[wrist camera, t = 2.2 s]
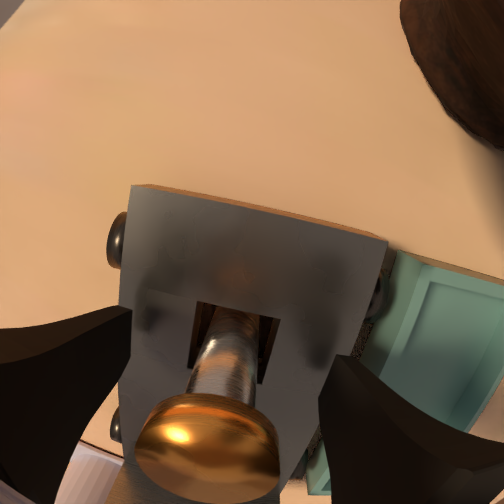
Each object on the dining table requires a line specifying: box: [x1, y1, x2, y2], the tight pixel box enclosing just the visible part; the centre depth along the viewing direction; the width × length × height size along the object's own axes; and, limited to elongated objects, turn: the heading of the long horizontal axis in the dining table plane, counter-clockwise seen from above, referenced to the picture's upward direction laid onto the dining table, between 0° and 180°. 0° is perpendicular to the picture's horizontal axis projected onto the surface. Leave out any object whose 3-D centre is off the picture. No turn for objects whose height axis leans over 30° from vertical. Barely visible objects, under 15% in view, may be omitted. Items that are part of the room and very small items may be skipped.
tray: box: [305, 250, 504, 495], centre depth 13 cm, size 15×9×2 cm, turn 168°
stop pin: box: [134, 305, 280, 504], centre depth 9 cm, size 3×3×9 cm
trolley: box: [104, 184, 389, 504], centre depth 11 cm, size 16×11×7 cm
